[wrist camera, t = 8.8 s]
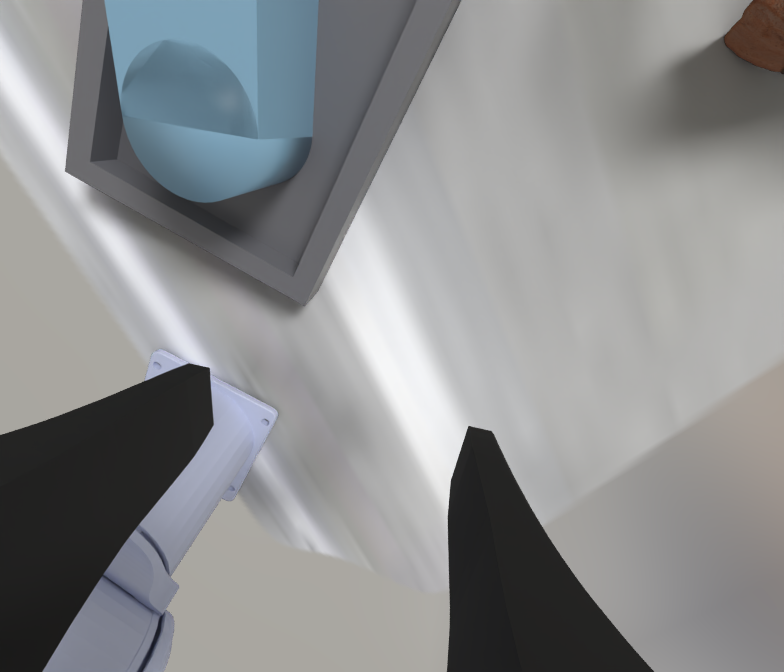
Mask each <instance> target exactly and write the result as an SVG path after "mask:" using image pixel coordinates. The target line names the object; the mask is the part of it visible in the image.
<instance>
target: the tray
mask: <svg viewBox="0 0 784 672" xmlns="http://www.w3.org/2000/svg"><path fill="white" fill-rule="evenodd" d="M460 2H461V0H319V4H318V26H317V48H316V69H315V91H314V112H313V134H312V145H311V149H310V153H309V156H308V158H307V160H306V162H305V164H304V165H303V167H302V168H301V170H300V171H299V172H298V173H297V174H296V175H294V176H293V177H292V178H290V179H288V180H287V181H284V182H281V183H278V184H275V185H271V186H268V187H265V188H261V189H258V190H255V191H251V192H248V193H244V194H241V195H238V196H234V197H231V198H228V199H224V200H221V201H216V202H207V203H203V202H195V201H191V200H187V199H185V198H182V197H180V196H178V195H176V194H174V193H172V192H171V191H169V190H168V189H166V188H165V187H163V186H162V185H161V184H160V183H159V182H157V181H156V180H155V179H154V178H153V177H152V176H151V175H150V174H149V172H148V171H147V170H146V169H145V167H144V166H143V165H142V163H141V162H140V160H139V159H138V157H137V156H136V154H135V152H134V150H133V148H132V146H131V144H130V141H129V139H128V136H127V133H126V130H125V127H124V122H123V117H122V111H121V105H120V98H119V92H118V85H117V79H116V72H115V66H114V59H113V53H112V46H111V40H110V33H109V27H108V20H107V14H106V7H105V1H104V0H83V4H82V14H81V23H80V33H79V43H78V52H77V62H76V71H75V81H74V91H73V100H72V110H71V119H70V129H69V139H68V148H67V158H66V168H65V172H67V173H69V174H71V175H72V176H74V177H76V178H78V179H79V180H81V181H83V182H85V183H87V184H88V185H90V186H92V187H94V188H95V189H97V190H99V191H101V192H103V193H104V194H106V195H108V196H110V197H111V198H113V199H115V200H117V201H119V202H120V203H122V204H124V205H126V206H127V207H129V208H131V209H133V210H135V211H136V212H138V213H140V214H142V215H143V216H145V217H147V218H149V219H151V220H152V221H154V222H156V223H158V224H159V225H161V226H163V227H165V228H167V229H168V230H170V231H172V232H174V233H175V234H177V235H179V236H181V237H183V238H184V239H186V240H188V241H190V242H191V243H193V244H195V245H197V246H199V247H200V248H202V249H204V250H206V251H207V252H209V253H211V254H213V255H215V256H216V257H218V258H220V259H222V260H223V261H225V262H227V263H229V264H230V265H232V266H234V267H236V268H238V269H239V270H241V271H243V272H245V273H246V274H248V275H250V276H252V277H254V278H255V279H257V280H259V281H261V282H262V283H264V284H266V285H268V286H270V287H271V288H273V289H275V290H277V291H278V292H280V293H282V294H284V295H286V296H287V297H289V298H291V299H293V300H294V301H296V302H298V303H300V304H302V305H303V306H305V305H306V304H307V303H308V302H309V301H310V299H311V298H312V297H313V296H314V295H315V294H316V293H317V292H318V290H319V288H320V286H321V284H322V282H323V280H324V278H325V276H326V274H327V272H328V270H329V268H330V266H331V264H332V262H333V260H334V258H335V256H336V254H337V252H338V250H339V247H340V245H341V243H342V241H343V239H344V237H345V235H346V233H347V231H348V229H349V227H350V225H351V223H352V221H353V219H354V217H355V215H356V213H357V211H358V209H359V207H360V205H361V203H362V201H363V199H364V197H365V195H366V193H367V191H368V189H369V187H370V185H371V183H372V181H373V179H374V176H375V174H376V172H377V170H378V168H379V166H380V164H381V162H382V160H383V158H384V156H385V154H386V152H387V150H388V148H389V146H390V144H391V142H392V140H393V138H394V136H395V134H396V132H397V130H398V128H399V126H400V124H401V122H402V120H403V118H404V116H405V114H406V112H407V110H408V107H409V105H410V103H411V101H412V99H413V97H414V95H415V93H416V91H417V89H418V87H419V85H420V83H421V81H422V79H423V77H424V75H425V73H426V71H427V69H428V67H429V65H430V63H431V61H432V59H433V57H434V55H435V53H436V51H437V49H438V47H439V45H440V43H441V41H442V39H443V36H444V34H445V32H446V30H447V28H448V26H449V24H450V22H451V20H452V18H453V16H454V14H455V12H456V10H457V8H458V6H459V4H460Z"/></svg>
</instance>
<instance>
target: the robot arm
mask: <svg viewBox="0 0 784 672" xmlns="http://www.w3.org/2000/svg"><path fill="white" fill-rule="evenodd" d="M158 363H159V364H160V365H159V364H158ZM277 418H278V412H277V411H276V409H274V408H273V407H271V406H269V405H267V404H265V403H263V402H261V401H259V400H258V399H256V398H254V397H252V396H250V395H248V394H246V393H244V392H242V391H241V390H239V389H237V388H235V387H233V386H231V385H229V384H227V383H225V382H224V381H222V380H220V379H218V378H216V377H214V376H212V375H210V368H208V367H203V366H199V365H194V364H190V363H188V362H186V361H184V360H182V359H180V358H178V357H176V356H174V355H172V354H171V353H169V352H167V351H165V350H162V349H158V350H156V351H155V352H153V353H152V355H151V358H150V362H149V366H148V370H147V373H146V377H145V381H144V382H142V383H139V384H137V385H134V386H132V387H130V388H127V389H125V390H123V391H120V392H118V393H116V394H113V395H111V396H108V397H106V398H104V399H101V400H98V401H96V402H93V403H91V404H88V405H85V406H83V407H80V408H78V409H75V410H72V411H70V412H67V413H65V414H62V415H60V416H57V417H54V418H51V419H48V420H46V421H43V422H40V423H37V424H34V425H31V426H28V427H25V428H22V429H18V430H15V431H12V432H9V433H6V434H2V435H0V672H164V670H165V668H166V665H167V663H168V659H169V656H170V652H171V647H172V638H173V633H174V619H173V616H172V614H170V613H169V612H168V611H167V610H166V608H167V607H168V605H169V603H170V602H171V600H172V598H173V597H174V595H175V594H176V592H177V590H178V589H179V585H178V584H177V583H176V582H175V581H173V579H172V578H171V575H172V574H173V572H174V571H175V569H176V568H177V566H178V565H179V563H180V562H181V560H182V559H183V557H184V555H185V554H186V552H187V550H188V549H189V548H190V546H191V545H192V543H193V542H194V540H195V538H196V537H197V535H198V534H199V532H200V531H201V529H202V528H203V526H204V525H205V523H206V522H207V520H208V519H209V517H210V515H211V514H212V512H213V511H214V509H215V508H216V506H217V505H218V503H219V501H220V500H221V498H222V499H224V500H226V501H232V500H233V499H234V498H235V497H236V495H237V493H238V491H239V489H240V487H241V485H242V484H243V482H244V480H245V478H246V476H247V474H248V472H249V470H250V468H251V467H252V465H253V463H254V461H255V459H256V457H257V455H258V453H259V452H260V450H261V448H262V446H263V444H264V442H265V440H266V438H267V437H268V435H269V433H270V431H271V429H272V427H273V425H274V423H275V422H276V420H277ZM265 419H267V420H268V421H269V422H268V421H266V420H265ZM448 550H449V588H450V632H449V650H448V666H447V672H654V671H653V670H652V669H651V668H650V667H649V666H648V665H647V663H646V662H645V661H644V660H643V659H642V658H641V657H640V656H639V654H638V653H637V652H636V651H635V650H634V649H633V648H632V646H631V645H630V644H629V643H628V642H627V641H626V639H625V638H624V637H623V636H622V635H621V634H620V632H619V631H618V630H617V629H616V627H615V626H614V625H613V624H612V623H611V621H610V620H609V619H608V618H607V616H606V615H605V614H604V613H603V611H602V610H601V609H600V608H599V607H598V605H597V604H596V603H595V602H594V600H593V599H592V598H591V597H590V595H589V594H588V593H587V592H586V590H585V589H584V588H583V586H582V585H581V583H580V582H579V581H578V579H577V578H576V577H575V575H574V574H573V573H572V571H571V570H570V568H569V567H568V565H567V564H566V563H565V561H564V560H563V558H562V557H561V555H560V554H559V552H558V551H557V549H556V548H555V546H554V545H553V543H552V542H551V540H550V539H549V537H548V536H547V534H546V532H545V530H544V529H543V527H542V526H541V524H540V522H539V521H538V519H537V517H536V516H535V514H534V512H533V511H532V509H531V507H530V505H529V504H528V502H527V500H526V498H525V496H524V494H523V493H522V491H521V489H520V487H519V485H518V483H517V482H516V480H515V478H514V476H513V474H512V472H511V470H510V468H509V466H508V464H507V462H506V460H505V458H504V455H503V453H502V451H501V449H500V447H499V445H498V443H497V440H496V438H495V436H494V434H493V433H492V431H488V430H484V429H479V428H475V427H471V426H468V429H467V432H466V436H465V439H464V442H463V445H462V448H461V451H460V454H459V457H458V460H457V463H456V467H455V470H454V473H453V476H452V479H451V486H450V497H449V509H448Z"/></svg>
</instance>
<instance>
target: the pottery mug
mask: <svg viewBox="0 0 784 672" xmlns="http://www.w3.org/2000/svg"><path fill="white" fill-rule="evenodd" d="M724 41H725V44H726V46H727V47H728V48H730V49H731V50H732V51H733V52H734V53H735V54H736V55H737V56H739V57H740V58H742V59H744V60H746V61H748V62H750V63H752V64H753V65H755V66H758V67H761V68H765V69H768V70H770V71H774V72H781V73H782V74H784V0H753V1H752V2H751V3H750V5H749V6H748V7H747V8H746V9H745V11H744V13H743V16H742V18H741V19H740V20H739V21H738V22H737V23H736V24H735V25H734V26H733V27H732V28H731V30H730V31H729V32H728V33H727V34H726V35H725V37H724Z"/></svg>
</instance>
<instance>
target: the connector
mask: <svg viewBox="0 0 784 672" xmlns="http://www.w3.org/2000/svg"><path fill="white" fill-rule="evenodd" d="M104 1H105V7H106V14H107V20H108V27H109V33H110V40H111V46H112V53H113V59H114V66H115V72H116V79H117V85H118V92H119V98H120V105H121V111H122V117H123V122H124V127H125V130H126V133H127V136H128V139H129V141H130V144H131V146H132V148H133V150H134V152H135V154H136V156H137V157H138V159H139V160H140V162H141V163H142V165H143V166H144V167H145V169H146V170H147V171H148V172H149V174H150V175H151V176H152V177H153V178H154V179H155V180H156V181H157V182H159V183H160V184H161V185H162V186H163V187H165V188H166V189H168V190H169V191H171V192H172V193H174V194H176V195H178V196H180V197H182V198H185V199H187V200H191V201H195V202H203V203H207V202H216V201H221V200H224V199H228V198H231V197H234V196H238V195H241V194H244V193H248V192H251V191H255V190H258V189H261V188H265V187H268V186H271V185H275V184H278V183H281V182H284V181H287V180H288V179H290V178H292V177H293V176H294V175H296V174H297V173H298V172H299V171H300V170H301V168H302V167H303V165H304V164H305V162H306V160H307V158H308V156H309V153H310V149H311V145H312V134H313V112H314V91H315V69H316V48H317V26H318V4H319V0H104Z"/></svg>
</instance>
